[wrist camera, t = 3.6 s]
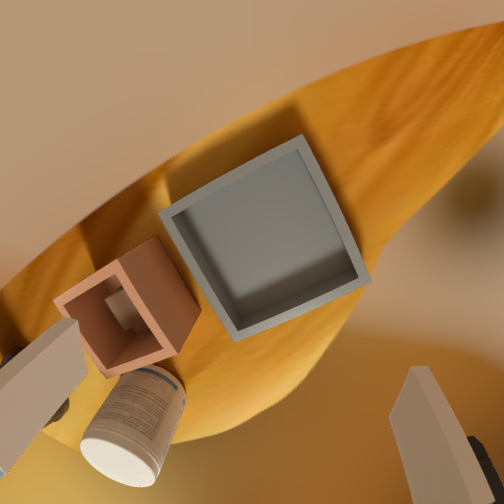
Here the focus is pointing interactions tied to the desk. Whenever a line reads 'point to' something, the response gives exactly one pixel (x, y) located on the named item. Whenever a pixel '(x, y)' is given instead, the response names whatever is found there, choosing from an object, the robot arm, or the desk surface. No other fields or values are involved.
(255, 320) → the gray tray
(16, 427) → the robot arm
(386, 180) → the desk surface
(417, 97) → the desk surface
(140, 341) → the terracotta bin
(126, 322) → the walnut block
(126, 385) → the supplement tub
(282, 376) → the desk surface
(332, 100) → the desk surface
